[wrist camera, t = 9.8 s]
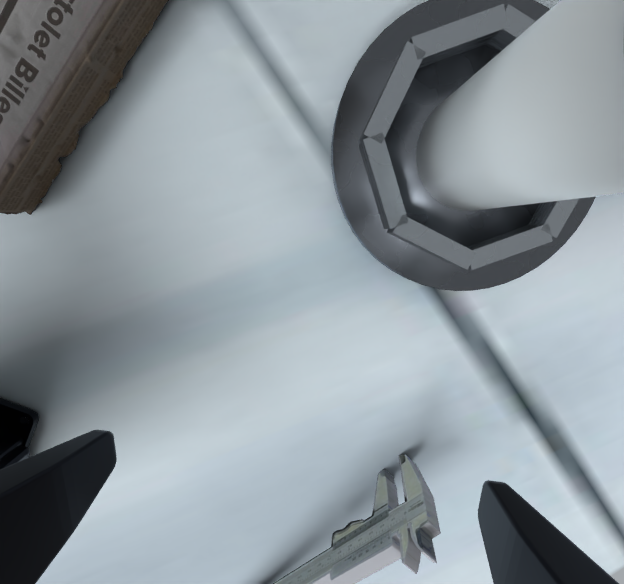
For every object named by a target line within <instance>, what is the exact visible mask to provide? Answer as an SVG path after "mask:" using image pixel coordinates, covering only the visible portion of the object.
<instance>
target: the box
mask: <svg viewBox="0 0 624 584" xmlns="http://www.w3.org/2000/svg"><path fill="white" fill-rule="evenodd" d="M167 1H169V0H0V213H5V214H18V213H22V212H27V213H28V214H30V215H31V213H32V212H33V210H35V208H36V206H37V205H38V204H39V203H42V200H41V198H43V197H44V196H45V195H46V193H47V191H48V189H49V187H50V186H51V184H52V181H53V180H54V179H55V178H56V176H57V175H58V174H59V172H60V169H61V167H62V165H61V164H60V163H59V158H61V157H67V156H68V155H69V154H71V153H72V151H73V150H75V149H76V145H77V142H78V137H79V134H78V132H79V131H80V129H81V128H82V127H84V126H85V125H86V124H87V123H88V122H89V121H90V120H91V118H93V117H94V115H95V114H96V112H97V111H98V109H99V108H100V107H101V106H102V105H104V104H105V103H106V102H107V101H108V99H109V95H110V90H111V89H114V88H117V87H116V85H117V83H118V81H119V82H120V80H119V79H120V78H122V79H123V69H124V68H125V67H126V64H127V62H128V61H129V60H130V59H131V58H132V56H133V55H134V54H135V52H136V49H137V47H138V46H140V44H141V42H142V40H143V38H145V36H146V34H148V33H149V31H150V30H152V27H153V22H155V20H157V16H159V15H160V11H162V9H163V7H164V5H165V4H166V3H167Z"/></svg>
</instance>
